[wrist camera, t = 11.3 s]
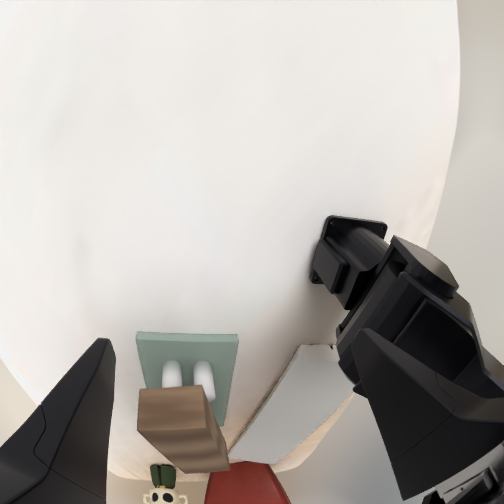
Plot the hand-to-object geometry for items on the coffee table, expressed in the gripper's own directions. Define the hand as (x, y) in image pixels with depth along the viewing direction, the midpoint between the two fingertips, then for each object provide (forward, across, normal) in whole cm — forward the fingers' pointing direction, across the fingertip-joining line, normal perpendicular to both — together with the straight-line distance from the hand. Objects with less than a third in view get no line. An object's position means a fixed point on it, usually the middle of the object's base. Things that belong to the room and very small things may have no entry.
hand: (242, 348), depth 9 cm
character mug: (+13, +12, +61) cm, 64 cm away
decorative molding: (+14, -11, +33) cm, 37 cm away
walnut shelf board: (+8, +3, +23) cm, 24 cm away
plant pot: (+13, -8, +65) cm, 67 cm away
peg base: (+13, +3, +23) cm, 26 cm away
